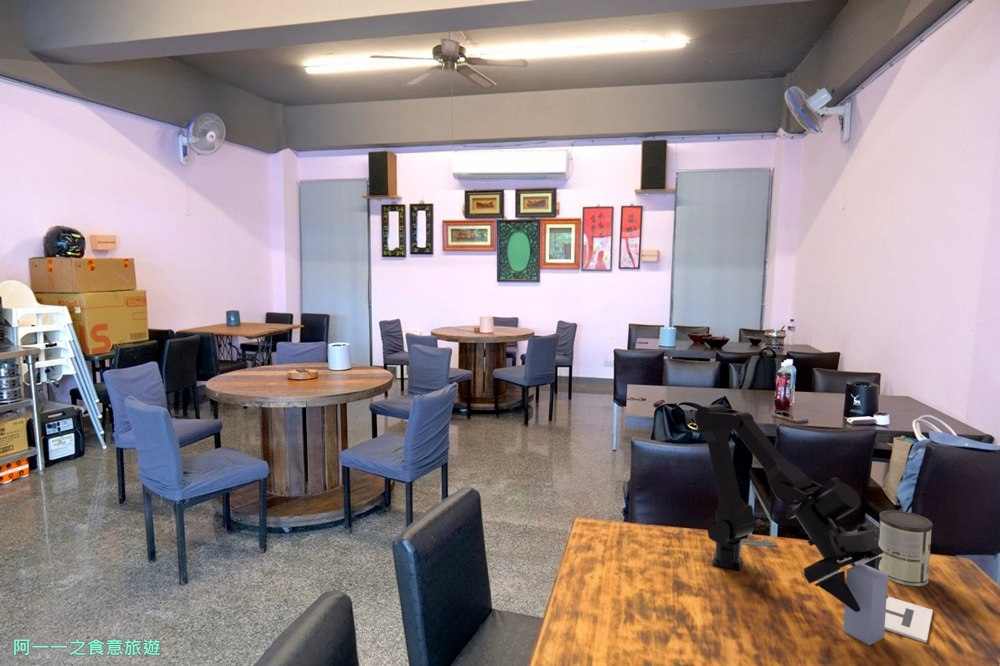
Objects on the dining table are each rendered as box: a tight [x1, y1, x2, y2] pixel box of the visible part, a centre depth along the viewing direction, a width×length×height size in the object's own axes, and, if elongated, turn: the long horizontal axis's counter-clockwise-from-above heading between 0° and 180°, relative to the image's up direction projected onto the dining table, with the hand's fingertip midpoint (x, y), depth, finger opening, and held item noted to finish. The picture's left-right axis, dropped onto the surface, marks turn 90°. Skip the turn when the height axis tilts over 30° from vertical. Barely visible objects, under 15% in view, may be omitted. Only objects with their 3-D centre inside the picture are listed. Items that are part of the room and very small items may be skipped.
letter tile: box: [884, 596, 934, 644], centre depth 121 cm, size 14×14×1 cm
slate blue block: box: [842, 564, 889, 646], centre depth 114 cm, size 5×5×13 cm
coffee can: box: [877, 509, 934, 587], centre depth 137 cm, size 10×10×14 cm
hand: (872, 605), depth 112 cm, fingers open, 9 cm apart
